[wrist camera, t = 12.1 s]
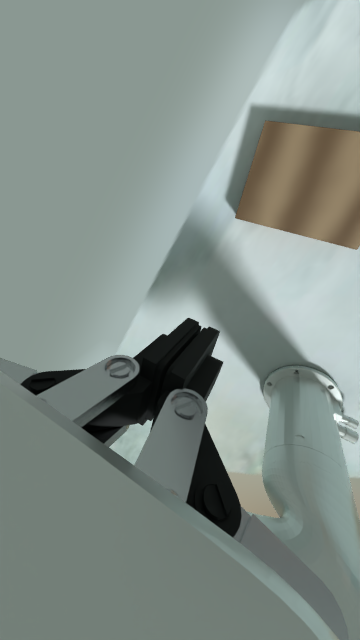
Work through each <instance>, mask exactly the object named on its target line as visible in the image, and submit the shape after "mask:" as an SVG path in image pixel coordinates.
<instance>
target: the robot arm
mask: <svg viewBox="0 0 360 640" xmlns="http://www.w3.org/2000/svg"><path fill="white" fill-rule="evenodd" d="M200 331H201V332H200ZM219 333H220V331H218V330H216V329H214V328H211V327H208V328H207V329H206V328H203V329H202V330H201V326H199V322H197V321H195V320H193V319H190V318H187V319H186V320H185V321H184V322H183V323H182V324H180V325H179V326H178V327H177V328H176V329H175V330H174V331H172V332H171V333H170V334H169V335H168V336H167V335H165V334H162V335H161V336H159V337H158V338H157V339H156V340H154V341H153V342H152V343H151V344H150V345H148V346H147V347H146V348H145V349H144V350H142V351H141V352H140V353H139V354H138V355H136V356H135V357H134V358H131V357H129V356H125V355H115V356H111V357H108V358H106V359H104V360H102V361H101V362H99V363H97V364H95V365H93V366H91V367H89V368H87V369H81V370H64V371H48V372H41V373H37V370H34V369H31V368H28V367H25V366H22V365H19V364H16V363H13V362H10V361H7V360H5V359H2V358H0V640H360V520H359V517H358V513H357V509H356V505H355V501H354V497H353V492H352V489H351V484H350V479H349V475H348V470H347V466H346V462H345V457H344V453H343V448H342V444H341V439H340V437H341V438H343V439H345V440H347V441H349V442H351V443H353V444H355V443H356V442H357V440H358V433H357V432H355V431H353V430H351V429H349V428H347V427H343V426H341V425H339V424H338V422H342V423H345V424H346V425H348V426H350V427H352V428H354V429H356V428H357V427H358V424H359V423H358V421H357V420H355V419H353V418H351V417H348V416H345V415H343V413H342V412H341V410H342V406H343V399H342V395H341V392H340V390H339V388H338V386H337V385H336V383H335V382H334V381H333V380H332V379H331V378H330V377H329V376H327V375H326V374H324V373H322V372H321V371H318V370H316V369H313V368H310V367H306V366H287V367H282V368H280V369H277V370H276V371H274V372H272V373H271V374H270V375H269V376H268V377H267V379H266V381H265V383H264V388H263V396H264V399H265V402H266V403H267V405H268V407H269V408H270V410H269V418H268V426H267V434H266V442H265V450H264V458H263V466H262V477H263V483H264V487H265V490H266V493H267V495H268V497H269V499H270V501H271V503H272V505H273V507H274V508H275V510H276V512H277V513H278V515H279V517H280V518H273V517H269V516H262V515H257V514H254V513H250V512H246V511H245V510H244V509H243V508H242V507H241V505H240V502H239V499H238V496H237V494H236V492H235V489H234V487H233V485H232V483H231V480H230V478H229V476H228V474H227V471H226V469H225V467H224V465H223V462H222V460H221V458H220V456H219V453H218V451H217V449H216V447H215V445H214V442H213V440H212V438H211V436H210V433H209V431H208V429H207V427H206V425H205V421H206V417H207V409H208V408H207V404H206V400H207V398H208V396H209V394H210V392H211V390H212V388H213V386H214V384H215V381H216V379H217V377H218V374H219V372H220V369H221V367H222V364H223V362H222V361H220V360H218V359H216V358H214V357H212V356H211V355H212V352H213V349H214V347H215V344H216V341H217V338H218V336H219ZM153 418H154V419H153ZM147 419H148V420H150V421H151V420H152V419H153V423H152V427H151V431H150V434H149V436H148V438H147V440H146V442H145V444H144V446H143V448H142V451H141V453H140V455H139V457H138V459H137V461H136V463H135V465H132V464H131V463H130V462H128V461H127V460H126V459H124V458H123V457H121V456H120V455H119V454H117V453H116V452H114V451H113V450H112V449H110V448H109V447H110V446H111V445H112V444H113V443H114V442H115V441H116V440H117V439H118V438H119V437H120V436H122V435H123V434H124V433H125V432H126V431H127V429H128V428H129V426H130V425H132V424H137V423H139V424H141V425H142V426H143V425H144V423H145V422H146V421H147Z"/></svg>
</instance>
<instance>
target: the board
mask: <svg viewBox="0 0 360 640" xmlns="http://www.w3.org/2000/svg"><path fill="white" fill-rule="evenodd" d="M235 218H236V219H240V220H244V221H248V222H252V223H256V224H260V225H263V226H267V227H271V228H275V229H279V230H283V231H287V232H290V233H294V234H298V235H302V236H306V237H310V238H313V239H317V240H321V241H325V242H329V243H333V244H337V245H340V246H344V247H348V248H352V249H356V250H357V249H358V247H359V246H360V132H358V131H350V130H341V129H332V128H324V127H315V126H307V125H298V124H289V123H281V122H272V121H265V123H264V126H263V130H262V133H261V136H260V139H259V142H258V146H257V149H256V152H255V155H254V159H253V162H252V165H251V168H250V171H249V175H248V178H247V181H246V184H245V187H244V191H243V194H242V197H241V200H240V203H239V207H238V210H237V213H236V216H235Z"/></svg>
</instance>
